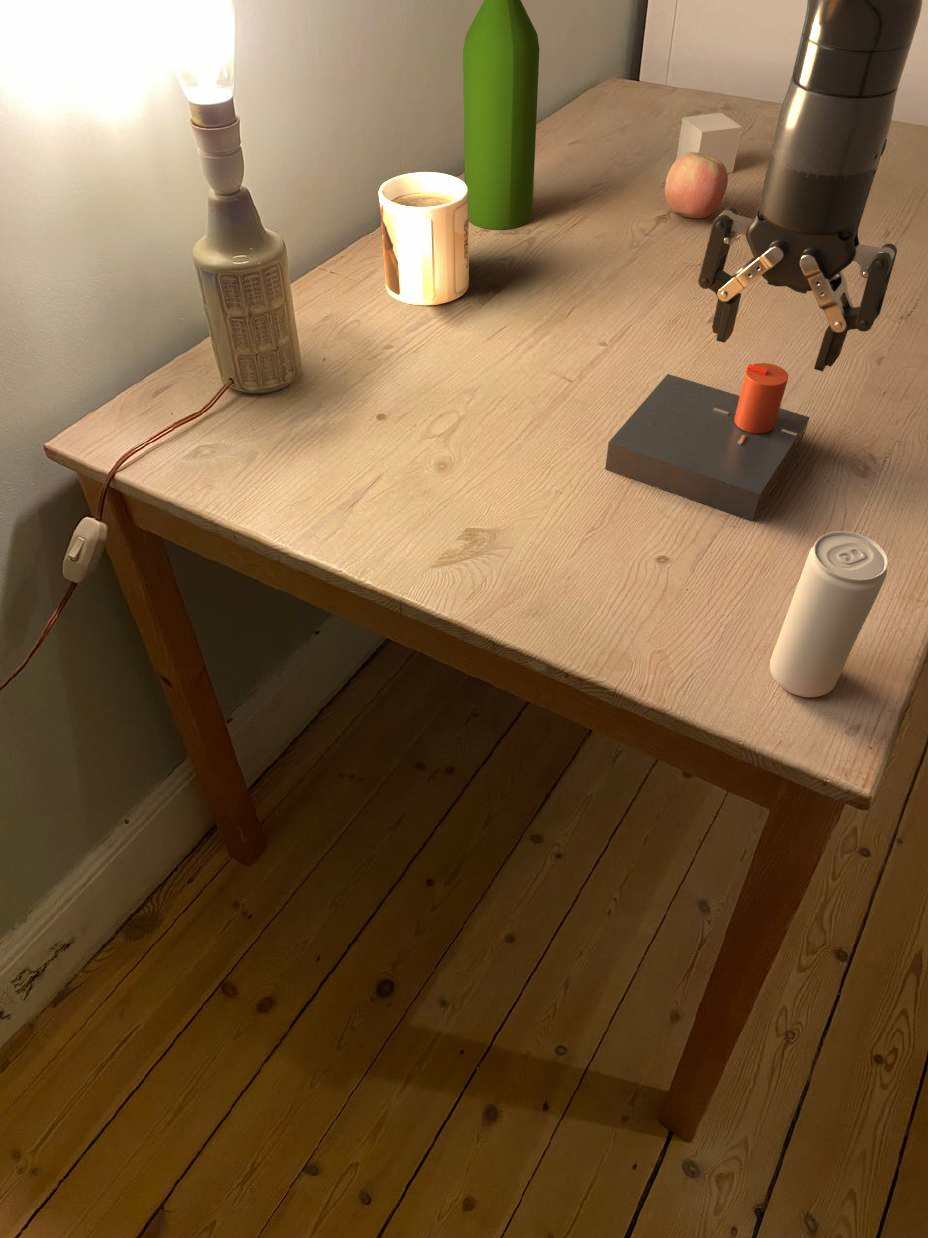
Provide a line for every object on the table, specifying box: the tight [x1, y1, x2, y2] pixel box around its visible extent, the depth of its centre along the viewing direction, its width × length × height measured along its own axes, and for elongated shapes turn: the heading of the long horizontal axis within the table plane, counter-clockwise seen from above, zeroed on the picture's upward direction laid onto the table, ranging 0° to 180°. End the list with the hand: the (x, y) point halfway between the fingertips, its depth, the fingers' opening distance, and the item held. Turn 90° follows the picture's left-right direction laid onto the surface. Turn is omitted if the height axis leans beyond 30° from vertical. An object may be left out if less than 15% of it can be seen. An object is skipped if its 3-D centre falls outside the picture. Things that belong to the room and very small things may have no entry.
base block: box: [604, 373, 810, 522], centre depth 83 cm, size 14×13×3 cm
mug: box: [378, 171, 470, 306], centre depth 103 cm, size 10×12×11 cm
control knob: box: [734, 362, 789, 434], centre depth 81 cm, size 4×4×5 cm
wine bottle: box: [462, 0, 540, 231], centre depth 108 cm, size 9×9×32 cm
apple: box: [664, 152, 729, 219], centre depth 116 cm, size 8×8×8 cm
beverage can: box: [769, 530, 890, 698], centre depth 62 cm, size 5×5×12 cm
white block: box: [675, 112, 743, 174], centre depth 128 cm, size 6×6×6 cm
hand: (771, 351), depth 77 cm, fingers open, 8 cm apart
